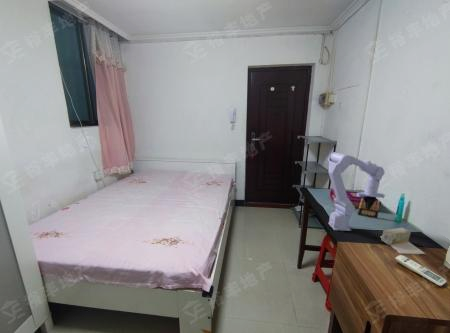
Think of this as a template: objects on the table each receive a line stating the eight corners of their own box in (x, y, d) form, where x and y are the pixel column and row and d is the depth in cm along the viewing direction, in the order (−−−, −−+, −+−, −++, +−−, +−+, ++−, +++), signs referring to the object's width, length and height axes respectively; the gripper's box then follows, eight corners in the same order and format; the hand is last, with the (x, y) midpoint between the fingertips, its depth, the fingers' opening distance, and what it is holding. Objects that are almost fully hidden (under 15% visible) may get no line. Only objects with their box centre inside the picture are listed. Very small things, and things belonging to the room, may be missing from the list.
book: (329, 196, 172) (330, 187, 170) (368, 201, 165) (370, 191, 163) (334, 206, 152) (336, 196, 151) (380, 212, 145) (382, 202, 144)
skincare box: (391, 234, 105) (411, 231, 108) (383, 229, 109) (402, 227, 112) (388, 245, 107) (408, 242, 109) (380, 240, 111) (399, 237, 113)
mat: (400, 253, 101) (400, 252, 101) (380, 237, 115) (380, 236, 115) (425, 254, 101) (425, 253, 101) (401, 237, 115) (402, 236, 114)
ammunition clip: (357, 214, 140) (361, 197, 137) (357, 213, 142) (360, 196, 139) (377, 218, 136) (381, 200, 133) (376, 217, 138) (380, 199, 135)
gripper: (380, 184, 125) (375, 206, 129) (355, 183, 126) (351, 205, 129) (389, 188, 119) (384, 211, 122) (362, 187, 119) (358, 210, 122)
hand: (367, 208), depth 125 cm, fingers closed
